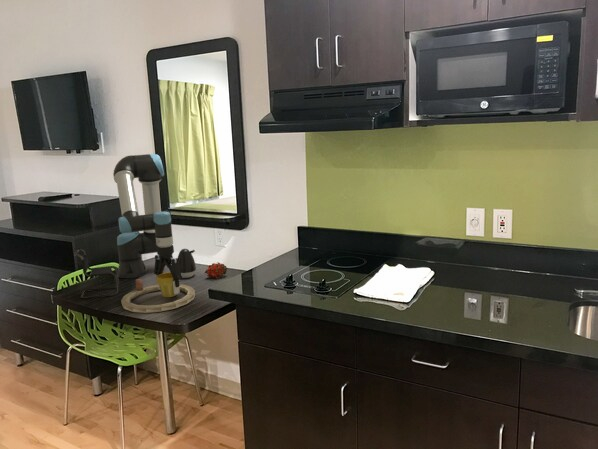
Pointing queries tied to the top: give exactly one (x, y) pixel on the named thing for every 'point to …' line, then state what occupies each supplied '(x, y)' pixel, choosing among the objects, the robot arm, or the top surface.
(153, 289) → the beige segmented ring
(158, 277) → the plant pot
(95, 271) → the chair
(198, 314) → the top surface
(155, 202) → the robot arm
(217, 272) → the dragon fruit
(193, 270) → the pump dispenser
